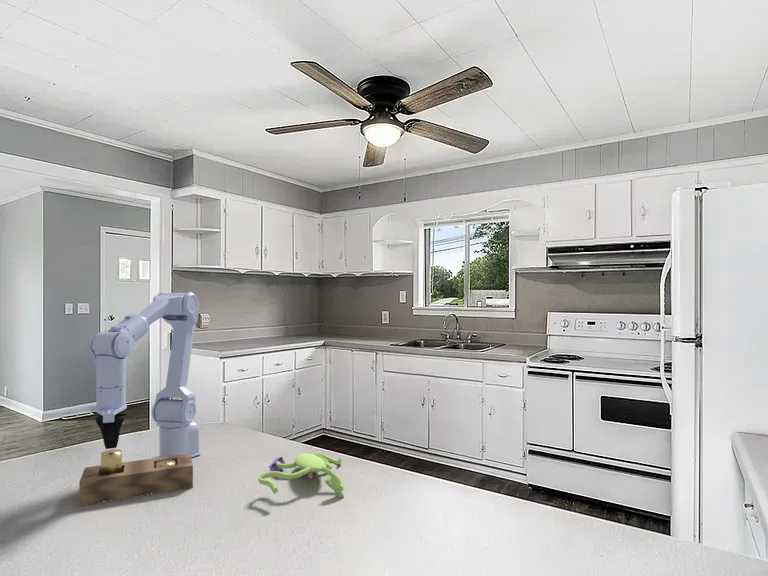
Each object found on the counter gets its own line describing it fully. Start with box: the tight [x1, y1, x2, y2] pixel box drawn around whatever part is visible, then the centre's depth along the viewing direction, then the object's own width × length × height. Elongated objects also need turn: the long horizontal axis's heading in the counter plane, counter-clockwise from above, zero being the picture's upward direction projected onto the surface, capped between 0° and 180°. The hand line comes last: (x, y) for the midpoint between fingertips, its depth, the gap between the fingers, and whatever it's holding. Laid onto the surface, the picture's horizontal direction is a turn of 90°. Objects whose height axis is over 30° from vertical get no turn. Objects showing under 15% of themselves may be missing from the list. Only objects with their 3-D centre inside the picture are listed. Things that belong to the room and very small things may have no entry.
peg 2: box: [156, 460, 175, 468], centre depth 113 cm, size 4×4×5 cm
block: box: [78, 453, 194, 507], centre depth 110 cm, size 22×9×5 cm, turn 115°
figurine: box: [257, 451, 345, 498], centre depth 115 cm, size 18×27×6 cm
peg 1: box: [100, 448, 123, 476], centre depth 108 cm, size 4×4×5 cm
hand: (111, 447), depth 108 cm, fingers closed
